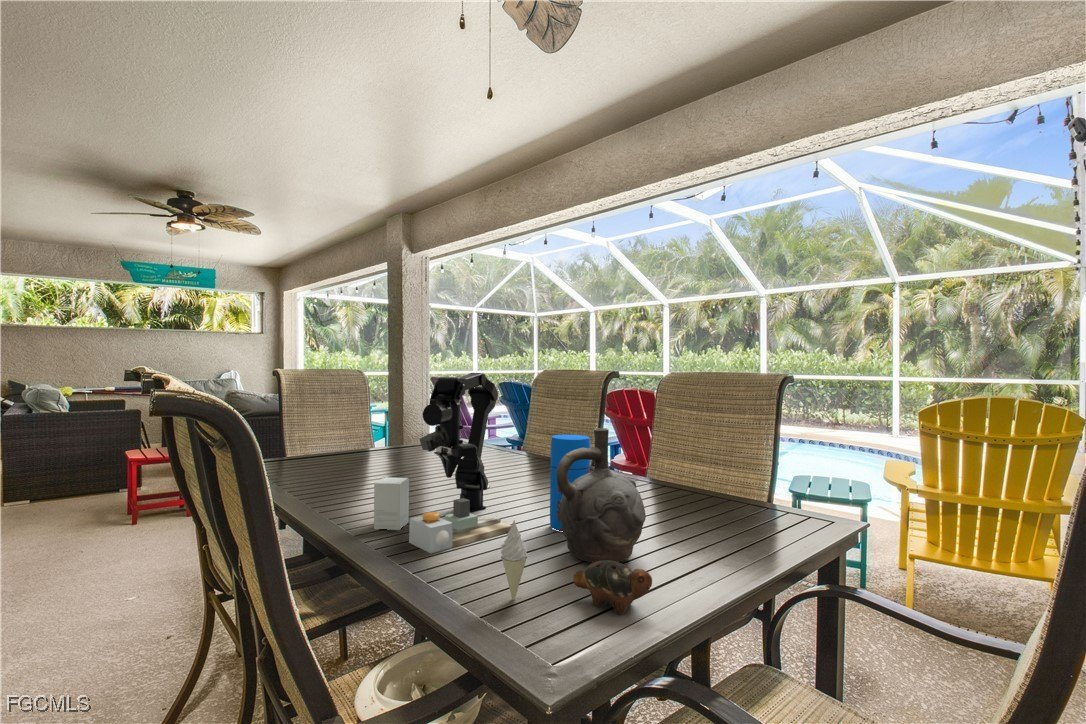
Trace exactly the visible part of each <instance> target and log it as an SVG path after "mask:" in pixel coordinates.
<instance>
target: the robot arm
mask: <svg viewBox="0 0 1086 724" xmlns="http://www.w3.org/2000/svg"><path fill="white" fill-rule="evenodd" d="M434 384H435V385H434V387H433V390H432V393H431V395H430V398H429V404H428V405H426V406H425V407H424V408H423V412H422V419H423V421H424V423H426V424H427V425H428V426H431V427H434V429H435V430H434V431H432V432H430V433H428V434H426V435H424V436H422V437H420V438H419V443H420V446H421V449H422V451H427V452H428V453H429V452H433V451H434V452H433V453H434V455H436V456H437V457H439V459H440V461H441V464H442V467H443V469H444V473H445V476H446V478H448V479H449V478H450V479H451V478H452V477H453V475H454V479H455V484H456V489H457V490H458V489H459V490H460V495H459V499H461V498H464V499H467V500H470V513H471V512H475V511H481V510H484V509H487V506H485V505H484V491H487V490H488V486H489V480H488V478H487V476H486V473H485V465H484V463H483V461H482V454H483V448H484V447H483V446H484V442H485V438H486V437H485V435H486V432H487V431H486V430H487V424H488V420H489V414H490V413H491V412H492V411H493V410H494V409H495V407H496V404H497V400H498V398H499V392H498V388H497V387H496V385H495V383H494V382H492V381H491V380H489V378H487V376H486V374H485V373H483V372H471V373H468V374H465V375H461V376H456V377H454V376H453V377H452V376H440V377H438V379H437V381H436V382H435V383H434ZM466 391H467V394H468V396H469V398H470V405H471V407H472V409H473V414H472V421H471V425H470V431H469V435H468V440H467V443H466V442H465V443H464V442H463V441H464V440H463V439H460V438H461V430H463V429H464V425H463V424H462V425H461V405H463V401H462V400H461V399H462V398H463V396H464V395H465V394H466ZM435 450H436V451H435ZM454 472H455V473H454Z"/></svg>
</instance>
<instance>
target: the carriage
mask: <svg viewBox="0 0 1086 724" xmlns="http://www.w3.org/2000/svg"><path fill="white" fill-rule="evenodd" d="M444 519H445V520H447V521H449V522H452V523H453V529H456V530H458V531H459V530H463V529H467V528H471V527H475V526H478V520H479V516H478V515H477V514H475V513H474V514H473V513H471V512H470V500H467V499H464V498H461V499H460V498H457V499H453V510H452V513H450V514H446V515H444Z"/></svg>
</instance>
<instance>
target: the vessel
mask: <svg viewBox="0 0 1086 724" xmlns="http://www.w3.org/2000/svg"><path fill="white" fill-rule="evenodd" d="M593 433H594V448H591V447H590V448H579V449H576V450H573V451H571V452H569V453H567V454H566V455H565V456H564V457H563V458H562V460H561V461H560V463H559V465H558V469H557V484H558V486H559V488H560V490H561V491H562V493H563V496H562V500H561V501H560V504H559V509H558V511H559V516H560V519H561V525H562V529H563V532H564V533H563V535H564V537H565V539H566V547H567V549H568V551H569V552H568V553H570V554H571V555H572V556H573V557H574V558H577V560H578V559H579V560H581V561H584V562H588V563H591V564H592V563H594V562H597V561H602V560H611V561H616V562H619V563H620V562H624V561H626V560H628V559H629V558H630V557H631V556H632V554H633V550H634V546H635V545H636V543H637V542H638V541H639V538H640V537H641V535H642V532H643V526H644V524H645V522H646V515H647V514H646V509H645V505H644V502H643V498H642V496H641V493H640V491H639V490H638V489H637V484H636V482H635V480H633V479H631V478H629V477H627V476H625V475H621V474H618V473H614V472H612V471H611V469H610V467H609V429H608V428H605V427H603V428H602V427H601V428H599V427H597V428H593ZM583 459H587V460H590V461H594V468H593V470H592V471H590V473H588V474H585V475H583V476H581V477H579V478H577V479H576V480H575V481H574V482H573V483H570V482H569V480H568V470H569V468H570V466H571V465H572V464H573V463H574V462H575V461H577V460H583Z"/></svg>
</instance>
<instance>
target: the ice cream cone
mask: <svg viewBox="0 0 1086 724" xmlns="http://www.w3.org/2000/svg"><path fill="white" fill-rule="evenodd" d="M511 525H512V527H511V529H510V531H509V532H507V534H506V536H507V537H506V539H505V540H504V541H503V543H502V545H501V546H500V547H501V550H500V554H501V556H500V558H501V561H502V564H503V568H504V572H505V576H506V580H507V584H508V588H509V592H510V597H511V600H512V601H514V600H516V596H517V593H518V590H519V586H520V582H521V580H522V577H523V576H522V575H523V572H524V568H525V565H526V562H527V559H528V554H527V547H526V546H527V545H526V543H525V541H524V540H522V537H521V536H522V534H521V533H520V531H519V529H518V526H517V524H516V520H513V521H512V524H511Z"/></svg>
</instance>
